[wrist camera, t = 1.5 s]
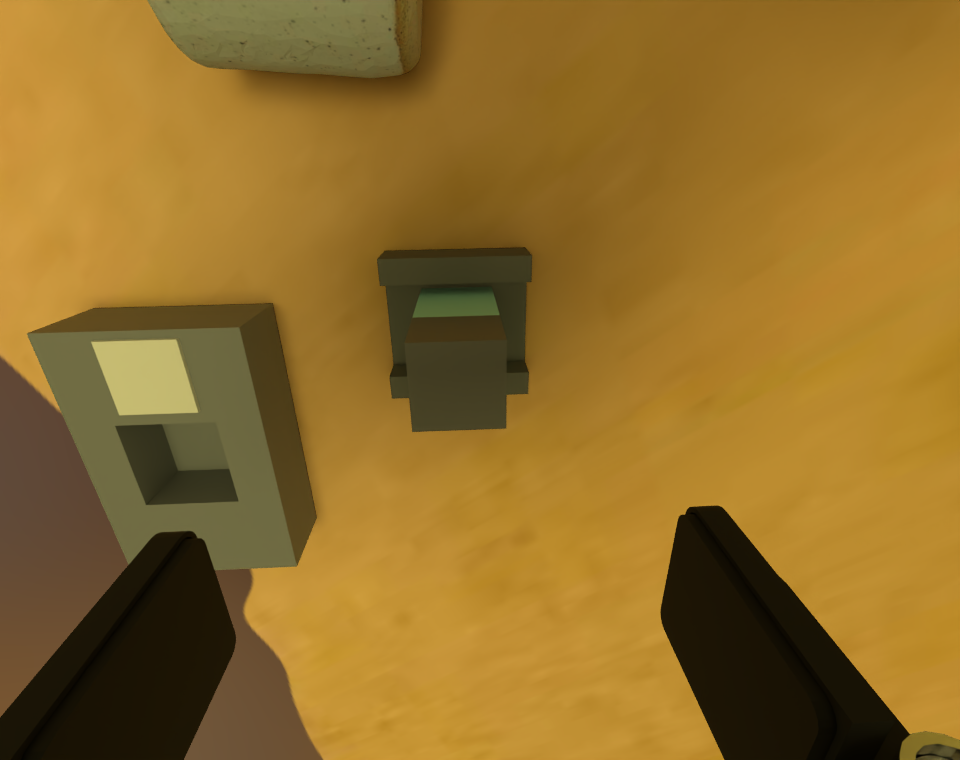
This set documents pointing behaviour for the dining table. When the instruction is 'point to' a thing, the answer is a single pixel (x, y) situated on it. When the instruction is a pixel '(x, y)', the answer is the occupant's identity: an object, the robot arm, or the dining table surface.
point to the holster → (457, 270)
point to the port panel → (186, 426)
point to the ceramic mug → (297, 34)
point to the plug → (456, 361)
